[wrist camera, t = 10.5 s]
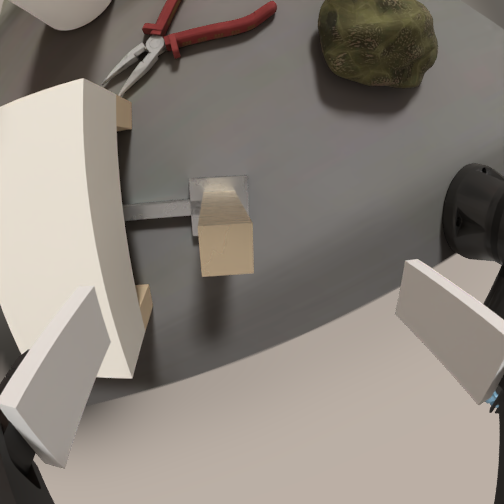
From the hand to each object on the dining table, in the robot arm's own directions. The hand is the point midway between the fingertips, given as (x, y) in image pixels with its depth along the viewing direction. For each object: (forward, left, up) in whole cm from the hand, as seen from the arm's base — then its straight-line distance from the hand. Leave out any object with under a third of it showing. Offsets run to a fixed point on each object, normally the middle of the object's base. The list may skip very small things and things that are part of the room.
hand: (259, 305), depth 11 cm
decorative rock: (-3, -27, -22) cm, 35 cm away
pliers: (+17, -15, -23) cm, 32 cm away
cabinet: (+13, +9, -22) cm, 27 cm away
